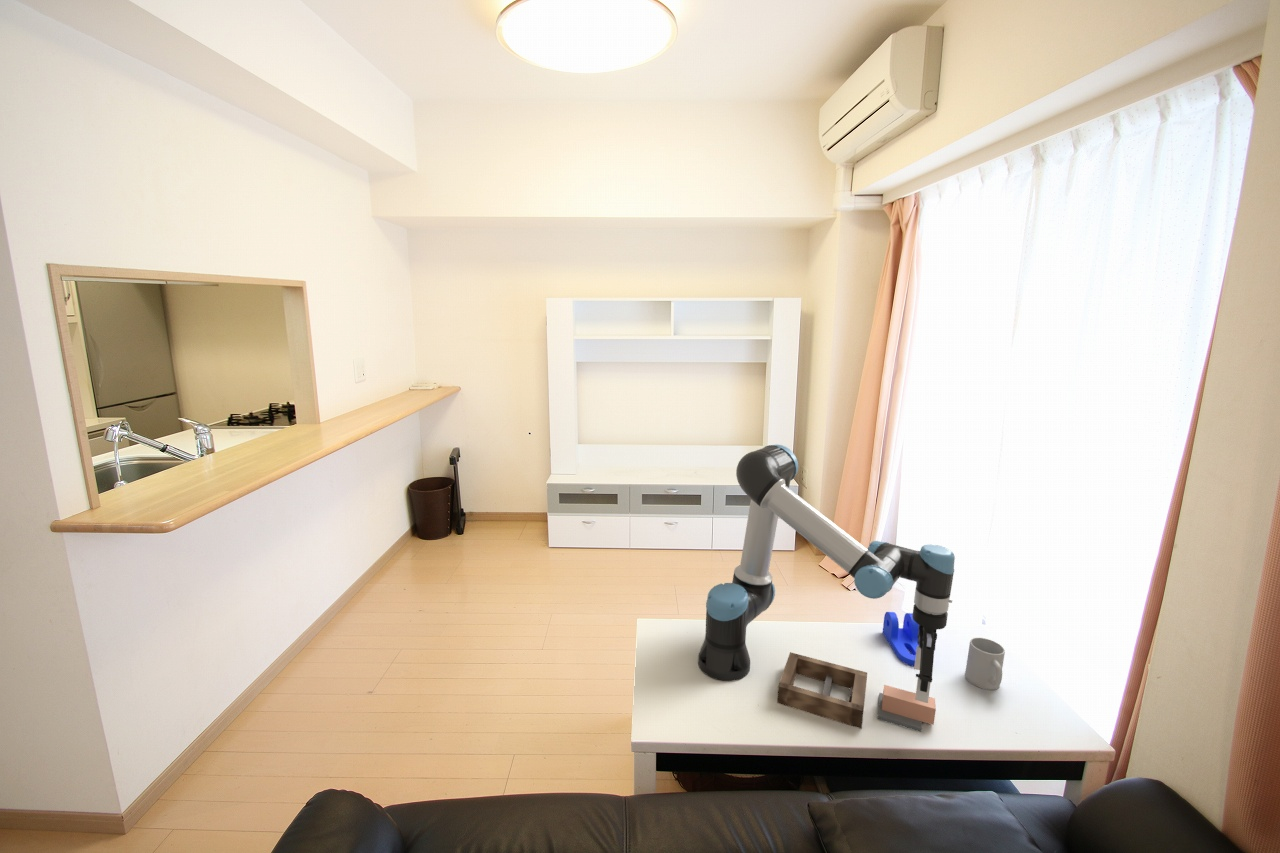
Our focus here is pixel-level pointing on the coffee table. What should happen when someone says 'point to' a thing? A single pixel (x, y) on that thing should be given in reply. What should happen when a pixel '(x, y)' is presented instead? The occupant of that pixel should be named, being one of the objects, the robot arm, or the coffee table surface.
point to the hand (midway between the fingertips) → (920, 684)
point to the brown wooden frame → (823, 702)
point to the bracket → (902, 636)
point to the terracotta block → (908, 705)
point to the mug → (984, 663)
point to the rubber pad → (897, 718)
